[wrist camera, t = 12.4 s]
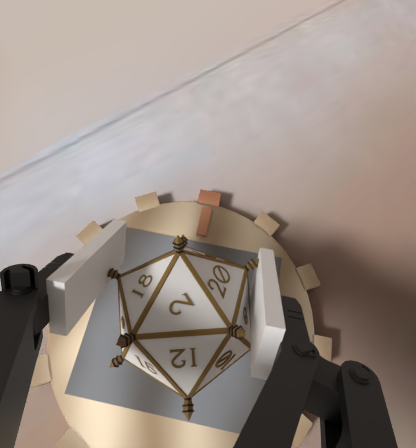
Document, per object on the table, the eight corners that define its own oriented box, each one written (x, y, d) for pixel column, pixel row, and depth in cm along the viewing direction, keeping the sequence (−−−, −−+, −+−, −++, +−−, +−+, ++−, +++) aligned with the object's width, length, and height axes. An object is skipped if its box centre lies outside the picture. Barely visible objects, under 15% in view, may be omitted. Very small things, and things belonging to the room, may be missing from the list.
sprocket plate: (331, 220, 26) (338, 213, 25) (316, 539, 18) (324, 553, 17) (94, 176, 28) (89, 167, 26) (-16, 457, 20) (-32, 465, 18)
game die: (179, 300, 24) (167, 184, 19) (281, 347, 20) (299, 215, 15) (87, 395, 18) (33, 257, 13) (210, 491, 14) (200, 345, 9)
